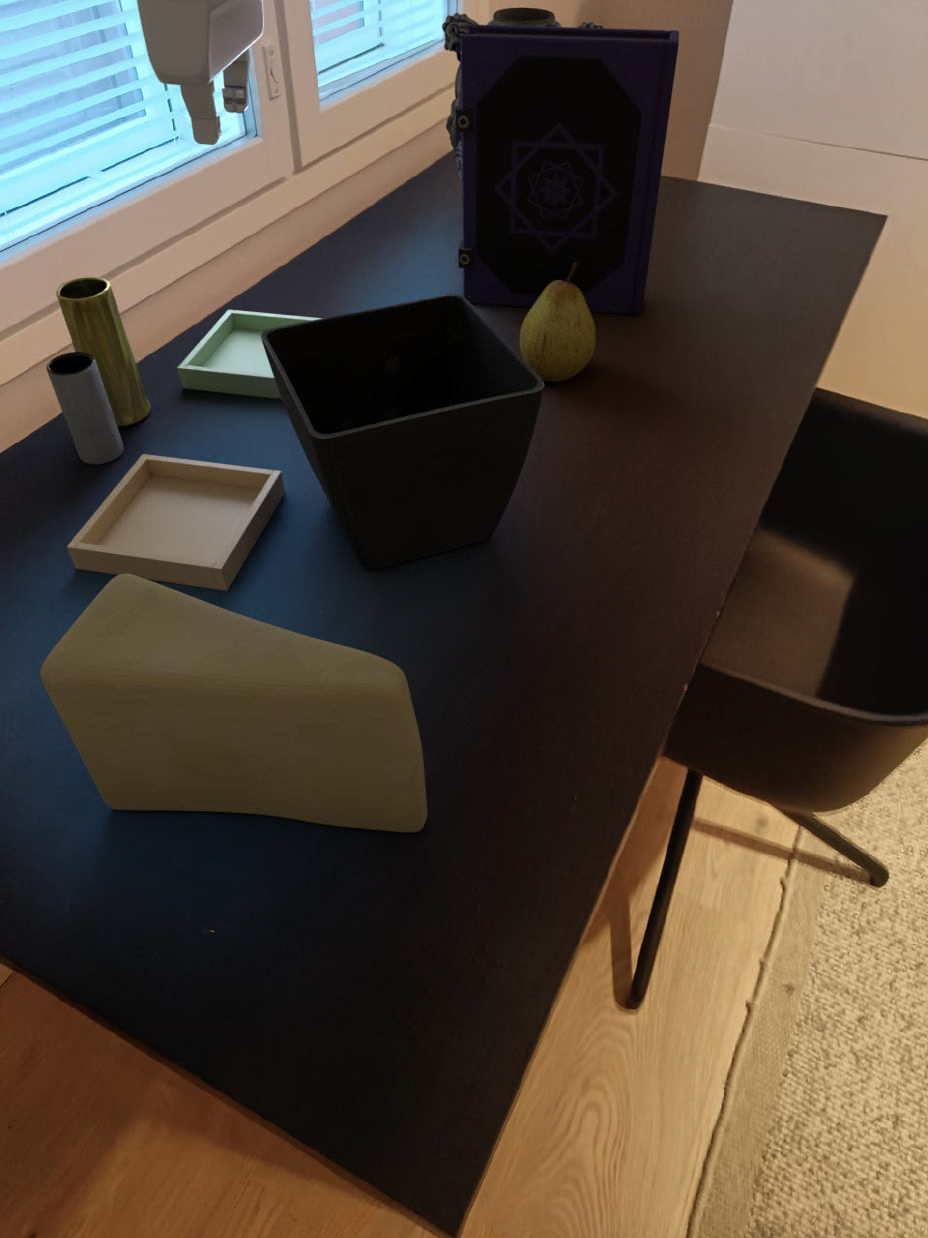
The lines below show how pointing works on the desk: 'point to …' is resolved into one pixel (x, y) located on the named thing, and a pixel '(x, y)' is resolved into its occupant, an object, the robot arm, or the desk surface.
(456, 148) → the decorative vase
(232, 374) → the vase tray
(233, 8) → the robot arm
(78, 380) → the grey tapered cylinder
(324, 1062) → the desk surface
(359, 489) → the flower pot
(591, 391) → the desk surface
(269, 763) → the cheese
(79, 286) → the vase
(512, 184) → the book
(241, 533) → the tray
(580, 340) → the fruit
